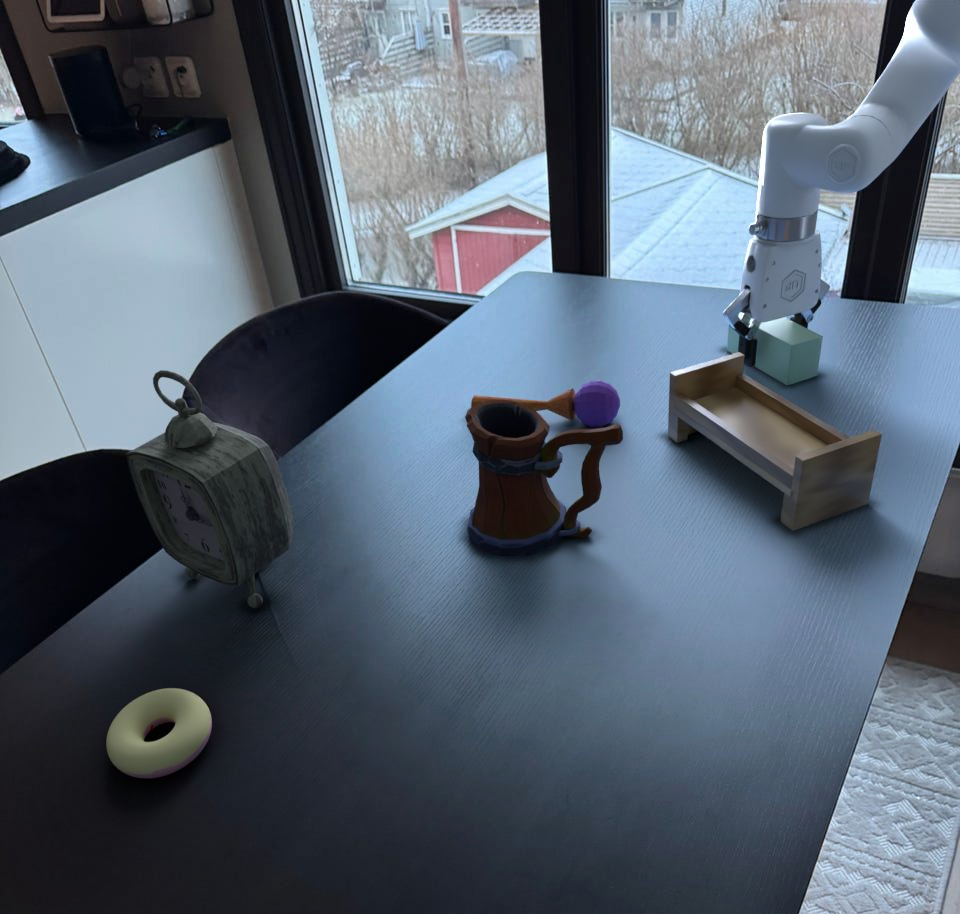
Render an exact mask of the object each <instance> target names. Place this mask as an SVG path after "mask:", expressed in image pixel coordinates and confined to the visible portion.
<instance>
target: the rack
mask: <svg viewBox="0 0 960 914" xmlns="http://www.w3.org/2000/svg"><path fill="white" fill-rule="evenodd" d="M744 356H745V355H744V354H742V353H740V352H737V353H734V354H732V353H731V354H727V355H724V356H721V357H717V358H713V359H711V360H707V361H705V362H701V363H697V364H694V365H690V366H688V367H684V368H680V369H678V370H677V369H676V370H674V371H670V372H669V382H668V385H669V386H668V387H669V388H668V413H667V414H668V415H667V418H668V419H667V420H668V421H667V437H668V438H670V439H671V440H672V441H674V442H675V443H680V442H685V441H687V440H688V438H689V435H692V434H694V433H698V432H699V433H700V434H701V435H702V436H704V437H706V438H707V439H708V440H709V441H711V442H713V444H715V445H717V446H718V447H719V448H721V449H722V450H724V451H725V452H726V453H728V454H729V455H731V456H732V457H733V458H734V459H736V460H738V461H739V462H741V463H742V464H743V465H744V466H746V467H747V468H749V469H750V470H752V471H753V472H754V473H755V474H757V475H759V476H760V477H761V478H762V479H764V480H765V481H767V482H768V483H769V484H771V485H773V486H774V487H775V488H776V489H778V490H779V491H780V492H782V493H784V494H783V499H782V507H781V514H780V522H781V524H783V525H784V526H785V527H787V528H788V529H789V530H791V531H792V532H793V531H794V532H795V531H797V530H799V529H802V528H805V527H807V526H811V525H813V524H816V523H819V522H822V521H824V520H827V519H830V518H833V517H835V516H839V515H841V514H844V513H847V512H849V511H852V510H855V509H859V508H860V507H864V506H867V505H868V504H869V500H870V496H871V491H872V485H873V481H874V476H875V472H876V465H877V463H878V462H877V461H878V456H879V451H880V448H881V447H880V446H881V441H882V436H883V434H882V433H881V432H880V431H877V430H876V429H872V430H868V431H865V432H863V433H860V434H857V435H854V436H851V437H850V436H848V435H846V434H845V433H843V432H841V430H838V429H837V428H835V427H833V426H832V425H830V424H828V423H827V422H825V421H823V420H822V419H820V418H818V417H817V416H815V415H813V414H811V413H810V412H808V411H806V410H805V409H804V408H801V407H800V406H798V405H796V404H795V403H794V402H791V401H790V400H788V399H786V398H785V397H783V396H782V395H780V394H779V393H777V392H774V391H773V390H771V389H770V388H769V387H767V386H765V385H763V384H761V383H760V382H759V381H757V380H755V379H754V378H752V377H750V376H748V375H747V374H745V373H744V365H745V364H744Z"/></svg>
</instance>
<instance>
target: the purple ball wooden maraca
mask: <svg viewBox="0 0 960 914" xmlns="http://www.w3.org/2000/svg"><path fill="white" fill-rule="evenodd" d="M501 399H503V400H508V401H514V402H517V403H519V404H521V403H522V404H524V405H526V406H528V407H529V408H531V409H533V410H535V411H536V412H540V411H549V412H551V413H553V414H556V415H558V416H560V417H562V418H564V419H567V420H569V421H571V422H573V421H575V419H576V417H577V419H578V420H579V421H580V422H581V423H582V424H583V425H586V426H588V427H590V428H603V427H604V426H606V425H608V424H610V423H612V422H613V420H614V419H616V417H617V415H618V413H619V410H620V407H621V399H620V396H619V393H618V391H617V389H616V388H615V387H614V386H613V385H612V384H611V383H609V382H607V381H604V380H601V379H600V380H590V381H588V382H586V383H584V384H582V386H580V387H579V389H578V390H577V391H575V389H574V388H573V387H572V388H570V389H568V390H565V391H564V392H562V393H560V394H559V395H556V396H555V397H552V398H550V399H549V400H535V399H525V398H513V397H512V398H511V397H502V396H501V397H500V396H488V395H477V394H476V395H473V396H472V398H471V402H470V408H471V407H473V406H475V405H477V404H479V403H482V402H484V401H490V400H501Z"/></svg>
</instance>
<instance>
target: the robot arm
mask: <svg viewBox="0 0 960 914" xmlns="http://www.w3.org/2000/svg"><path fill="white" fill-rule="evenodd" d="M904 24H905V26H904V31H903V35H902V37H901V40H900V42H899V44H898V46H897V48H896V50H895V52H894V54H893V56H892V57H891V59H890V61H889V62H888V64H887V66H886V67H885V69H883V71H882V73H881V75H880V76H879V78H878V79H877V80H876V82H875V83H874V85H873V86H872V88H870V91H869V92H868V93H867V95H866V96H865V98H864V99H863V101H862V102H861V104H860V105H859V106H858V107H857V109H856V110H855V112H854V113H852V114H851V115H850V116H848V117H846V119H845V120H843V121H840V122H838V123H837V122H836V123H835V124H830V125H828V121H827V120H826V118H825V117H823V116H822V115H820V114H817V113H813V112H812V113H811V112H793V113H792V112H791V113H785V114H781V115H778V116H775V117H773V118H771V119H770V120H769V121H768V122H767V124H766V125H765V126H764V130H763V134H762V142H761V143H762V144H761V153H760V166H759V167H760V168H759V177H758V190H757V200H756V211H755V221H754V222H753V223H750V225H749V226H748V233H749V235H750V236H753V237H752V238H750V240H749V242H748V243H749V244H748V247H747V252H746V255H745V259H744V263H743V268H742V274H741V280H740V288H739V289H740V290H739V295H737V296H736V297H735V299H734V300H733V301H732V302H731V303H730V304H729V305H728V306H727V307H726V308H725V309H724V310H723V313H722V316H723V318H724V319H725V321H726V322H727V324H728V326H729V325H730V327H731V328H732V329H733V330H734V331H735V332H736V333H737V334H739V344H738V352H740V353H742V354H744V355H745V356H744V365H746V366H747V367H749V368H753V367H755V366H754V365H755V363H756V353H757V343H758V340H757V339H756V338H755V337H754V336H755V334H756V332H757V330H758V328H759V327H760V325H761V323H762V322H769V321H773V320H776V319H780V318H783V317H785V318H787V317H790V319H789V320H791V321H793V322H795V323H797V324H799V325H801V326H803V327H805V328H807V329H809V323H811V322H813V320H814V314H816V312H817V310H818V309H819V308H820V307H821V305H822V301H824V299H825V297H826V295H827V294H828V292H829V291H830V289H831V285H830V284H828V283H827V282H826V281H824V280H823V279H822V262H823V261H822V260H823V255H822V253H823V251H822V250H823V249H822V237H821V232H820V230H818V229H816V228H817V221H818V213H819V206H820V199H821V198H820V197H821V190H822V191H827V192H831V193H834V194H841V195H843V194H844V195H845V194H846V195H847V194H853V193H857V192H859V191H862V190H863V189H866V188H867V187H869V185H871V183H872V182H874V181H875V179H877V178H878V177H879V176H880V175H881V174H882V173H883V172H884V171H885V170H886V169H887V168H888V167H889V166H890V165H891V164H892V163H893V162H895V160H896V159H897V158H898V157H899V156H900V154H901V153H902V152H903V150H904V149H905V148H906V146H907V145H909V143H910V141H911V140H912V138H913V137H914V135H916V133H917V132H918V131H919V129H920V128H921V127H922V125H923V124H924V123H925V121H926V120H927V119H928V117H929V116H930V115H931V113H932V112H933V111H934V109H935V108H936V107H937V105H938V104H939V103H940V101H941V100H942V98H943V97H944V96H945V94H946V93H947V91H948V90H949V89H950V87H951V86H952V84H953V83H954V82H955V81H956V79H957V78H958V77H959V76H960V0H914V2H912V6H911V7H910V9H909V11H908V14H907V16H906V20H905V23H904ZM740 312H742V313H744V314H743V316H742V318H741V320H740V318H739V313H740ZM751 318H752V319H753V320H752V322H751V324H750V326H749V328H748V327H747V326H748V324H749V322H750V320H751Z"/></svg>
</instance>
